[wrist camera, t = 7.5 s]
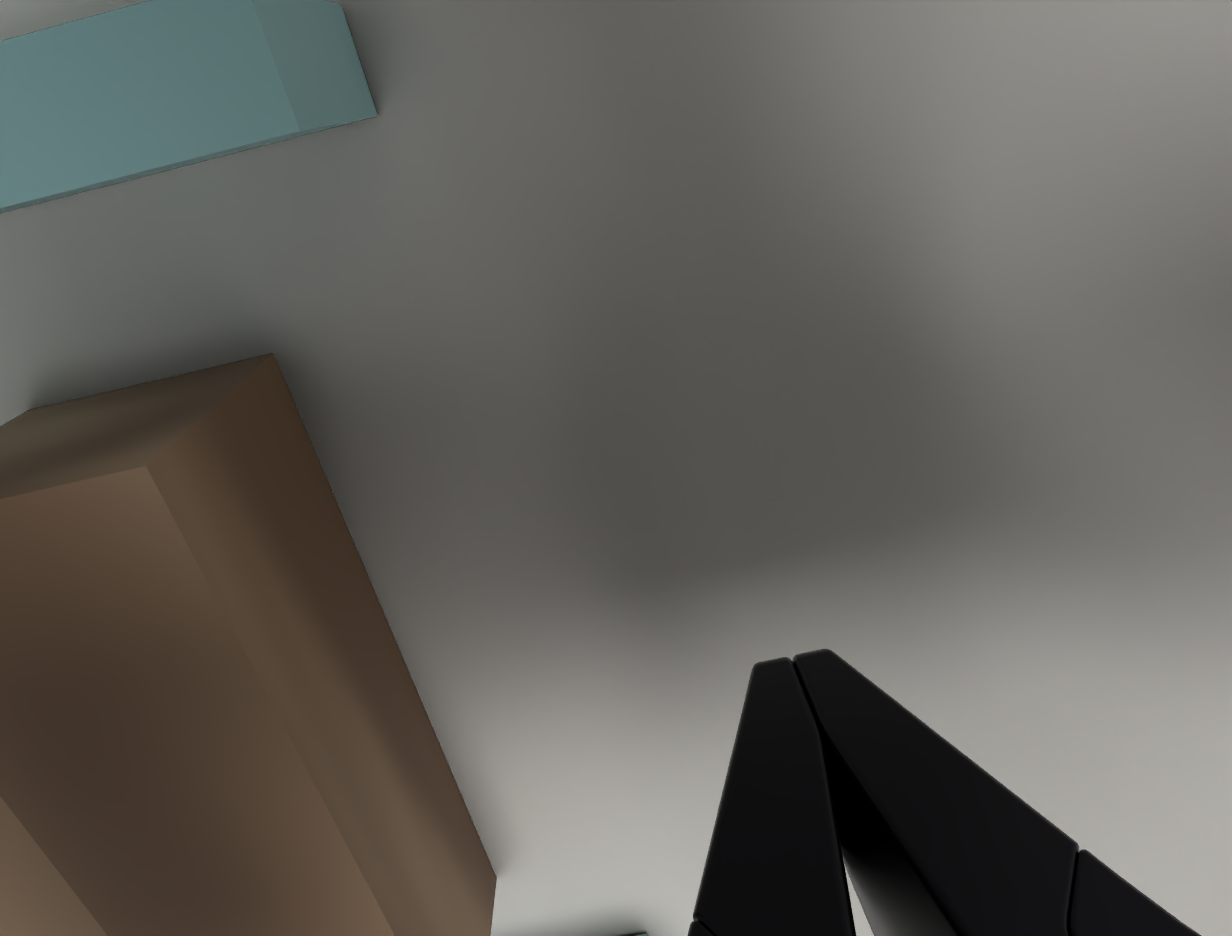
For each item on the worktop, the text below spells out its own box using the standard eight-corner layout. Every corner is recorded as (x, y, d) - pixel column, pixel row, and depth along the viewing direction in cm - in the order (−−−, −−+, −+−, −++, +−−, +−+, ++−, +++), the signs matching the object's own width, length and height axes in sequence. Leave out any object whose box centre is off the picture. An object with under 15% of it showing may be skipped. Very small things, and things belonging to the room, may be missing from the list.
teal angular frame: (340, 3, 8) (241, -25, 6) (659, 969, 14) (673, 1138, 12) (-872, 328, 9) (-1381, 418, 6) (-56, 1099, 15) (-168, 1279, 13)
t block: (272, 352, 9) (144, 465, 7) (496, 877, 13) (474, 1084, 10) (-435, 518, 10) (-818, 685, 7) (-21, 974, 14) (-172, 1195, 11)
